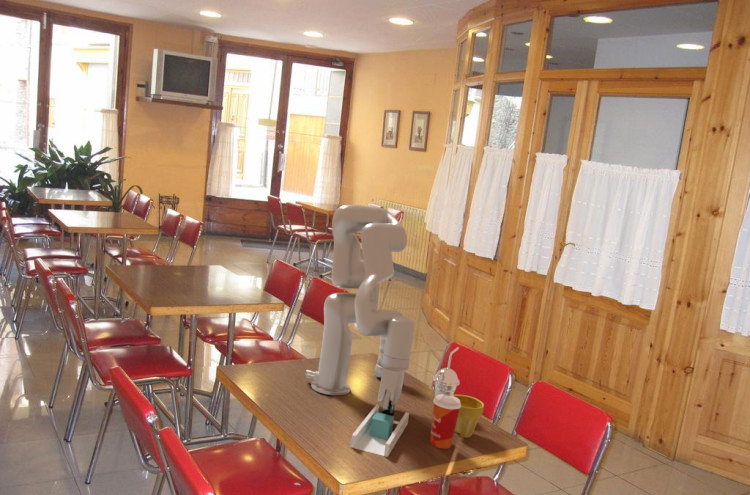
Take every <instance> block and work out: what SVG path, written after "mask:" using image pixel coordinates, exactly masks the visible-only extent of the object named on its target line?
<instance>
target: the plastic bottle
mask: <svg viewBox="0 0 750 495" xmlns="http://www.w3.org/2000/svg"><path fill="white" fill-rule="evenodd" d="M385 340H386V336H379V350H378V357H377V361H376V364H375V367H374V374H375V376H376V377H377V378H379V379H381V378H382V374H383V370H384V367H383V366H382V360H383V354H384V347H385Z"/></svg>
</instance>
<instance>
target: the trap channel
mask: <svg viewBox="0 0 750 495" xmlns="http://www.w3.org/2000/svg"><path fill="white" fill-rule="evenodd" d="M379 410H380V405H378V404H376V405H375V406H374V407H373V408H372V409H371V411H370V412H369V413H368V415H367V416H366V417H365V418H364V419H363V420H362V422H361V423H360V425H358V427H357V428H356V430H354V432H353V433H352V435H351V438H350V439H351V440H350V446H349V447H350V448H352V449H356V450H359V451H363V452H367V453H371V454H375V455H379V456H381V457H382V456H383V457H385V458H388V457H389V455H391V452H392V451H393V449H394V447H395V446H396V444H397V442H398V441H399V439H400V437H401V435H402V434H403V432H404V431H405V429H406V427H407V426H408V423H409V416H410V412H407V411H406V412H404V414H403V415H402V418H401V419H400V421H397V420H394V421H393V425H394V424H395V425H396V427H395V429H394V430H393V431H392V434H391V435H390V437H389V438H388V440H384V439H380V438H376V437H372V436H369V435H370V429H371V422H372V418H373V417H374V415H375V414H376V413H377V412H378V413H379Z"/></svg>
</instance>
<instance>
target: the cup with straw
mask: <svg viewBox="0 0 750 495" xmlns="http://www.w3.org/2000/svg"><path fill="white" fill-rule="evenodd" d="M459 349H460V347H459V346H457V347H456V348H454V349H453V350H452V351H450V353H449V357H448V362H447V367H444V368H440V369H439V370H438V371H437V373H435V374H434V375H433V377H432V380H433V382H434V398H435V397H436V396H437V395H440V394H443V395H449V396H452V395H455V394H454V393H455V392H456V389H457V386H459V385H460V379H459V378H458V375H457V372H456V371H454V370H453V369H452V368H450V367H451V361H452V357H453V356H452V355H453V354H454V353H455V352H457V351H458V350H459Z"/></svg>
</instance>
